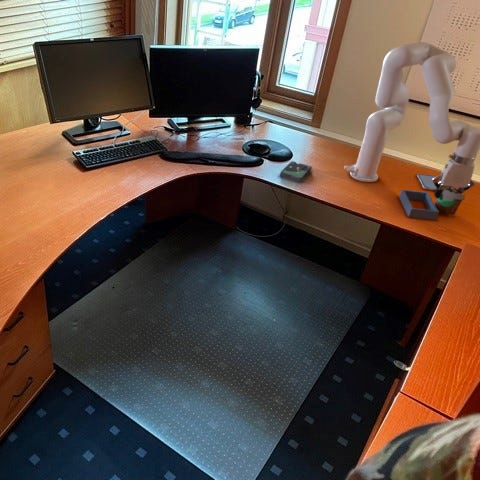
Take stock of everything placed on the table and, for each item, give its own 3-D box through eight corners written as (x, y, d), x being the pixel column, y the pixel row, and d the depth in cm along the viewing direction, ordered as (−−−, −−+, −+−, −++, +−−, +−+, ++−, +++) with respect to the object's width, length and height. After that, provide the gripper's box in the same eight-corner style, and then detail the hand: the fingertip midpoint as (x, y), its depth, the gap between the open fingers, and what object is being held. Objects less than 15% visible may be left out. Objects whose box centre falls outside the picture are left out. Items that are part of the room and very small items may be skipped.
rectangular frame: (408, 217, 193) (411, 208, 191) (399, 197, 206) (402, 189, 204) (435, 220, 192) (439, 211, 189) (424, 200, 205) (427, 192, 203)
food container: (425, 201, 202) (434, 180, 196) (439, 201, 203) (448, 180, 197) (442, 217, 192) (451, 195, 186) (456, 216, 193) (466, 195, 187)
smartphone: (433, 175, 224) (441, 189, 211) (432, 177, 224) (440, 191, 212) (416, 173, 225) (424, 187, 212) (416, 175, 225) (423, 189, 213)
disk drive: (290, 166, 229) (279, 177, 219) (291, 160, 228) (280, 171, 217) (310, 171, 225) (300, 183, 214) (312, 166, 223) (302, 177, 213)
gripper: (442, 160, 182) (426, 200, 192) (490, 165, 180) (471, 205, 190) (436, 152, 188) (421, 191, 198) (483, 157, 186) (465, 196, 196)
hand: (445, 198), depth 194 cm, fingers closed on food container, 6 cm apart
